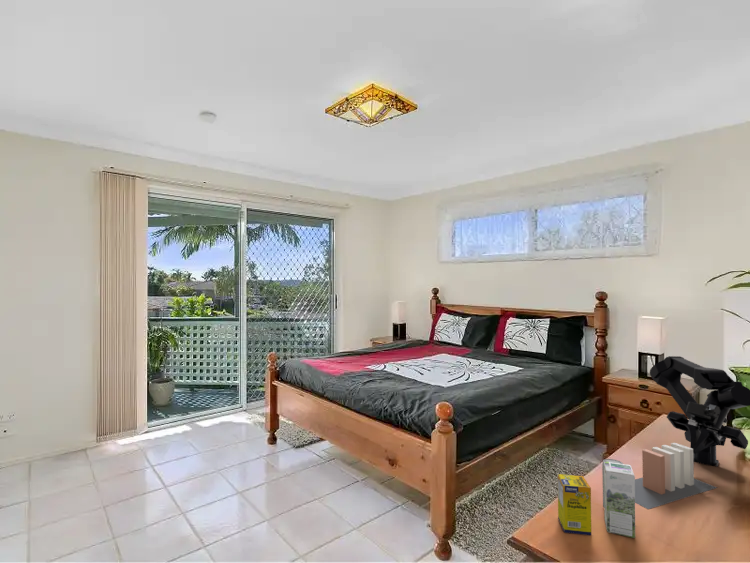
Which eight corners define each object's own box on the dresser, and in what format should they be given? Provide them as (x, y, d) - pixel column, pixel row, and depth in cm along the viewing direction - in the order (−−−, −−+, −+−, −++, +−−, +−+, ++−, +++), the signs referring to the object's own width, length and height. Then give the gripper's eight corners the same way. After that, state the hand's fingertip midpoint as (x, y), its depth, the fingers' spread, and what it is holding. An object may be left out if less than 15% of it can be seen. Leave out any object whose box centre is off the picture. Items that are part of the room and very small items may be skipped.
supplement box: (592, 536, 93) (591, 487, 93) (563, 533, 94) (563, 485, 94) (584, 521, 99) (583, 475, 99) (557, 518, 100) (557, 473, 100)
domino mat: (672, 471, 124) (671, 469, 124) (717, 489, 113) (717, 487, 113) (605, 489, 114) (605, 487, 114) (648, 511, 102) (648, 509, 102)
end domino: (646, 484, 115) (646, 449, 115) (665, 493, 110) (664, 455, 110) (642, 486, 114) (642, 449, 114) (661, 494, 109) (660, 456, 110)
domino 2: (665, 479, 118) (665, 444, 118) (684, 487, 113) (683, 451, 113) (662, 480, 117) (661, 445, 117) (680, 488, 112) (680, 452, 113)
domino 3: (675, 477, 119) (674, 442, 119) (693, 484, 114) (693, 448, 115) (671, 478, 119) (670, 443, 119) (690, 485, 114) (689, 449, 114)
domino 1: (656, 482, 116) (655, 446, 116) (675, 490, 112) (674, 453, 112) (652, 483, 116) (652, 447, 116) (671, 491, 111) (670, 454, 111)
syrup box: (632, 525, 97) (631, 463, 97) (636, 539, 91) (634, 474, 91) (604, 519, 99) (603, 459, 99) (606, 533, 94) (605, 469, 94)
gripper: (670, 385, 129) (646, 425, 125) (741, 400, 112) (717, 447, 107) (686, 407, 132) (664, 447, 128) (758, 425, 115) (735, 472, 110)
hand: (692, 452), depth 118 cm, fingers closed
